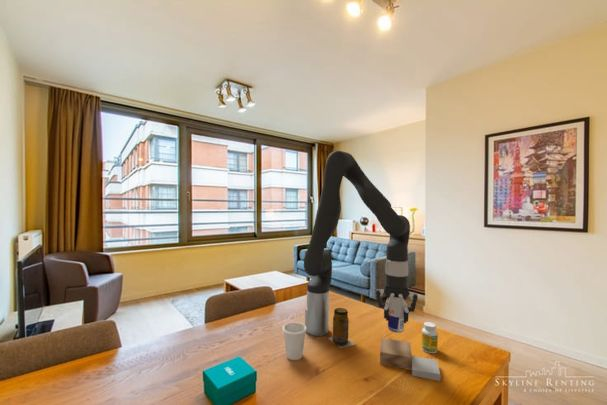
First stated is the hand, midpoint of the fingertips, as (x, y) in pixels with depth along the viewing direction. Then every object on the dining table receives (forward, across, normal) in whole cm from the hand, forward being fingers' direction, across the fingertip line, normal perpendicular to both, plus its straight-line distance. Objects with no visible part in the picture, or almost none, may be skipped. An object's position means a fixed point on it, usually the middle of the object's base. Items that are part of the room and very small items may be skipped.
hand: (396, 320), depth 96 cm
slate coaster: (+13, +9, -4) cm, 17 cm away
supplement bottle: (+14, +12, +10) cm, 21 cm away
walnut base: (+13, 0, 0) cm, 13 cm away
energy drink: (+3, 0, 0) cm, 3 cm away
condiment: (+13, -20, +5) cm, 25 cm away
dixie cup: (+13, -34, -10) cm, 38 cm away
